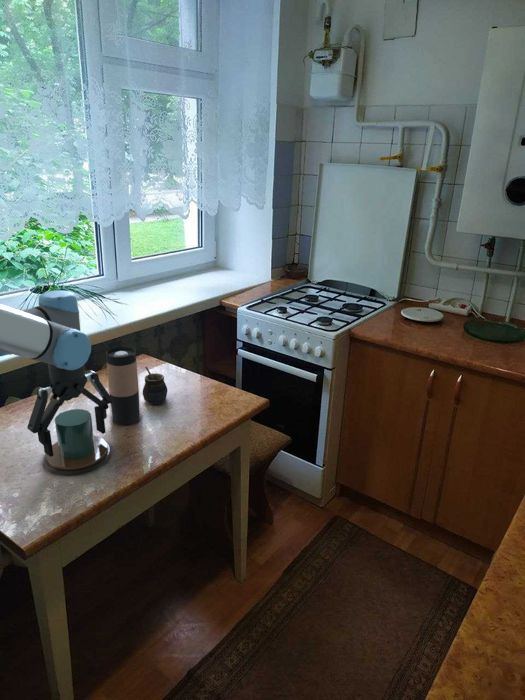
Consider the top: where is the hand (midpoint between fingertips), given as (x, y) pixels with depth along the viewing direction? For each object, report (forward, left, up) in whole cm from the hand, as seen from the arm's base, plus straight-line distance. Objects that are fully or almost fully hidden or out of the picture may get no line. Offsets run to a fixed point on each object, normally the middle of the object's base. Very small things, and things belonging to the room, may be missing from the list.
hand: (76, 442), depth 118 cm
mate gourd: (+31, +8, -4) cm, 32 cm away
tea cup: (0, 0, -3) cm, 3 cm away
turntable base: (0, 0, -4) cm, 4 cm away
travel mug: (+19, +6, -4) cm, 20 cm away
